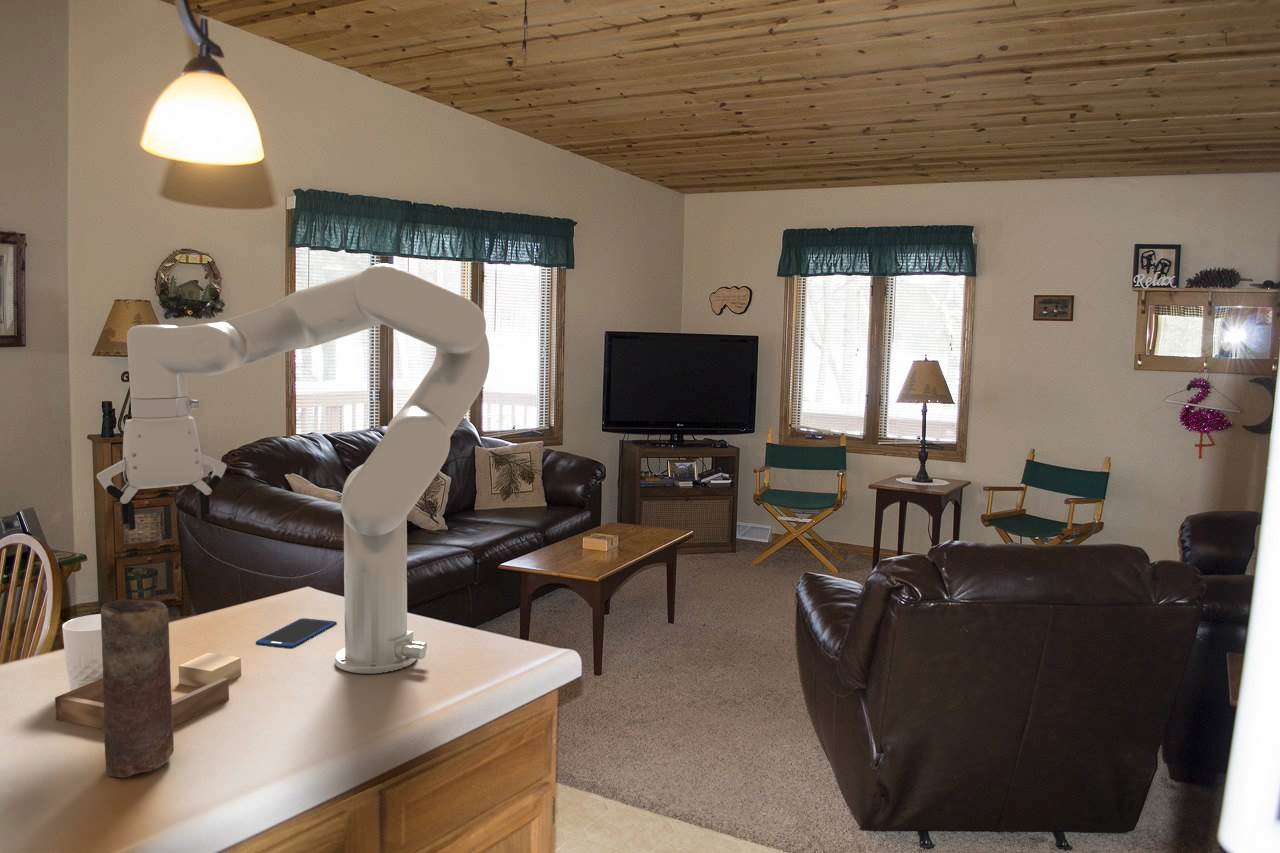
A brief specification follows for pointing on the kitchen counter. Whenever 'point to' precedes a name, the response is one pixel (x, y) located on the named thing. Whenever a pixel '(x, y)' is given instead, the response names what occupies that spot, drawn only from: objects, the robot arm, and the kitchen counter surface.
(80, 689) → the corral
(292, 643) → the cell phone
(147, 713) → the candle
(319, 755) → the kitchen counter surface
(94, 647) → the white cup
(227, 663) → the tan square block
